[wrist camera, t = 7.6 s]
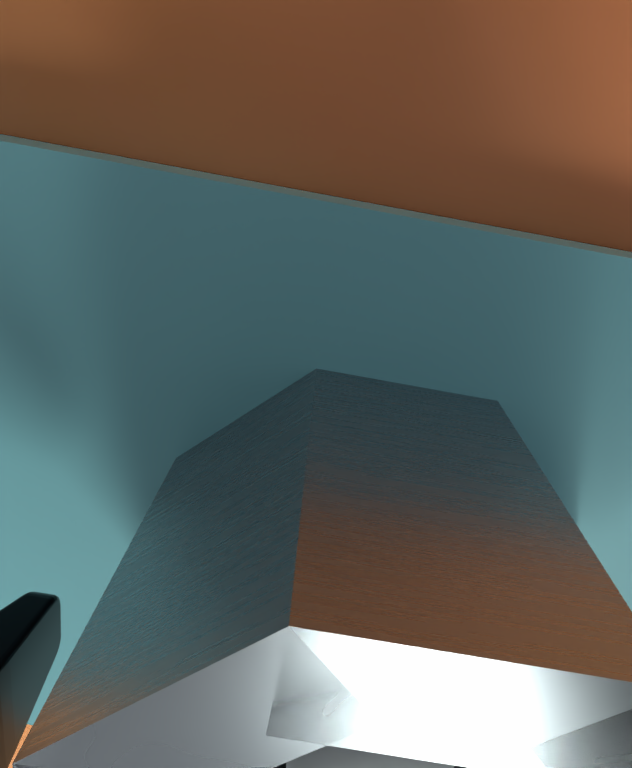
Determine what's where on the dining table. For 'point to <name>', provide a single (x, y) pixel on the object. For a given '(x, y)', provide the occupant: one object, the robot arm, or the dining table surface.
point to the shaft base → (270, 350)
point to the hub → (350, 601)
